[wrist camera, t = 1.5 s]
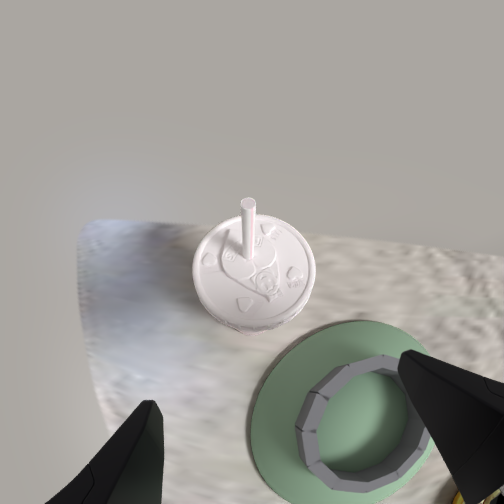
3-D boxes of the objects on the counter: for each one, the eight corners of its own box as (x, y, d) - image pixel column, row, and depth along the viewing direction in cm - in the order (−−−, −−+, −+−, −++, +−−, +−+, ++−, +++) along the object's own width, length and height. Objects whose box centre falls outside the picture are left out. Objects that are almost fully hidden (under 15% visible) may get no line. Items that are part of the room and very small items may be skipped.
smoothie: (263, 265, 24) (277, 137, 12) (305, 324, 22) (375, 240, 9) (199, 301, 23) (145, 194, 10) (239, 366, 20) (223, 338, 8)
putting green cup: (400, 513, 12) (417, 524, 9) (216, 484, 15) (210, 499, 12) (456, 348, 20) (477, 340, 17) (297, 294, 23) (305, 279, 20)
